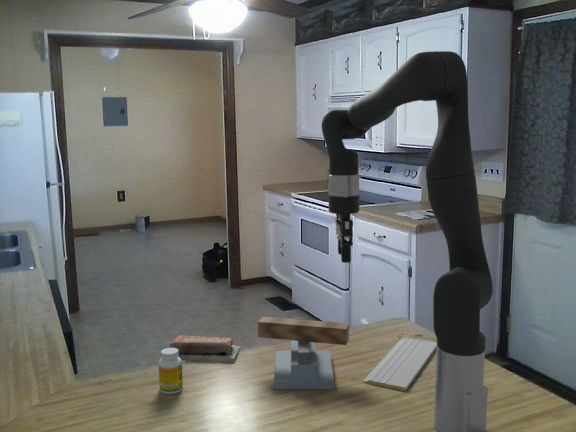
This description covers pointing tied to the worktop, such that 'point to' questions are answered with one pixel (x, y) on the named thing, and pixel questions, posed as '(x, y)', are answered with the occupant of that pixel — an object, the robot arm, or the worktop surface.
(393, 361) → the baseboard molding
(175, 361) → the supplement bottle
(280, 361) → the ridge stand
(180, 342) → the packaged product
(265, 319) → the walnut batten
